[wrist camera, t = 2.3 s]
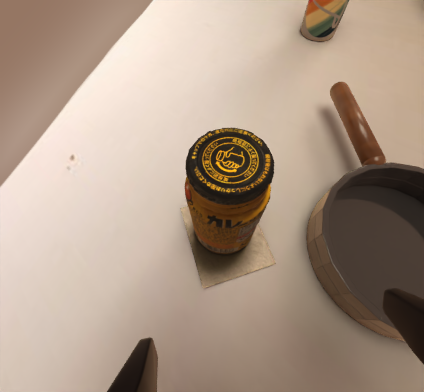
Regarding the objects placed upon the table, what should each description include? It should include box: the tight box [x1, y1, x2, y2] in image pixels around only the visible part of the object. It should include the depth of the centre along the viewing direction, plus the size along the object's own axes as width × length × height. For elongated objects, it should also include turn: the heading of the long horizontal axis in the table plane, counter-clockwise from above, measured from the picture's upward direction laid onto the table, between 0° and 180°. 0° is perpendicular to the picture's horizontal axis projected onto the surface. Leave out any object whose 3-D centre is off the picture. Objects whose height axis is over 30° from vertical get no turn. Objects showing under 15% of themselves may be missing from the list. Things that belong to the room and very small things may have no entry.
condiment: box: [181, 128, 276, 288], centre depth 18 cm, size 7×8×12 cm
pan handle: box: [330, 82, 386, 166], centre depth 25 cm, size 12×2×2 cm, turn 5°
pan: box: [307, 163, 424, 341], centre depth 21 cm, size 15×15×4 cm
